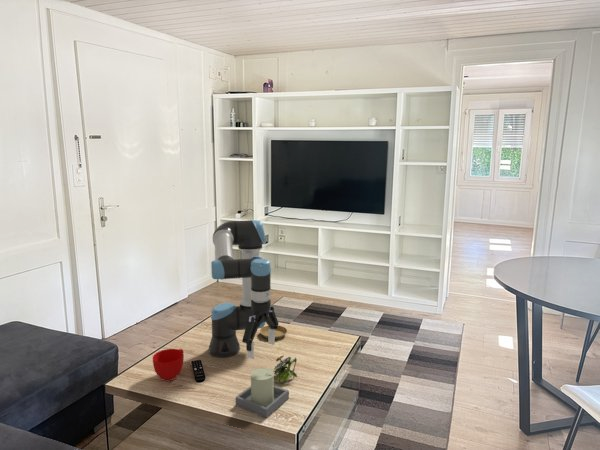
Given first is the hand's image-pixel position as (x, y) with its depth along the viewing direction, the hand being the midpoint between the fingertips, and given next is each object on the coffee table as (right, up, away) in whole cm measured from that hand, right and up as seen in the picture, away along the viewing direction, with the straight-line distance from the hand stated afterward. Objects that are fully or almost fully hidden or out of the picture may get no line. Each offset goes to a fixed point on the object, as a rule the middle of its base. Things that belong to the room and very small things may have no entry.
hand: (261, 350), depth 170 cm
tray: (0, -21, +2) cm, 21 cm away
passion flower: (+9, -18, +20) cm, 29 cm away
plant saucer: (+1, -10, +63) cm, 64 cm away
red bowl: (-42, -17, +22) cm, 50 cm away
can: (0, -21, +2) cm, 21 cm away
